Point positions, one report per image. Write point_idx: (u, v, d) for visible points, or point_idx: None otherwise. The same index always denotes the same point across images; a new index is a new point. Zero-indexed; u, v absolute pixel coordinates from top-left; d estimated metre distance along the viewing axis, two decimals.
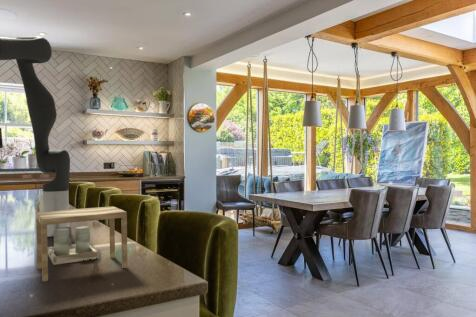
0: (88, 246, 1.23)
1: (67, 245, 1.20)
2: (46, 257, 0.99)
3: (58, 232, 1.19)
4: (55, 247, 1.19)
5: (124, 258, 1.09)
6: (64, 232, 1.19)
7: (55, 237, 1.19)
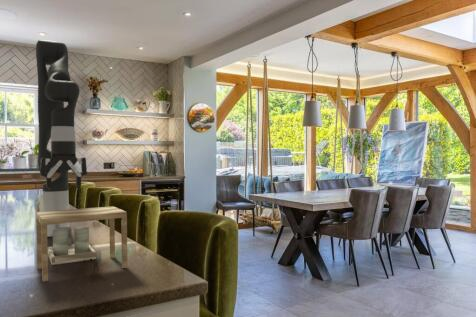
0: (87, 246, 1.23)
1: (66, 245, 1.20)
2: (46, 257, 0.99)
3: (57, 232, 1.18)
4: (54, 247, 1.19)
5: (124, 258, 1.09)
6: (63, 232, 1.19)
7: (54, 237, 1.19)
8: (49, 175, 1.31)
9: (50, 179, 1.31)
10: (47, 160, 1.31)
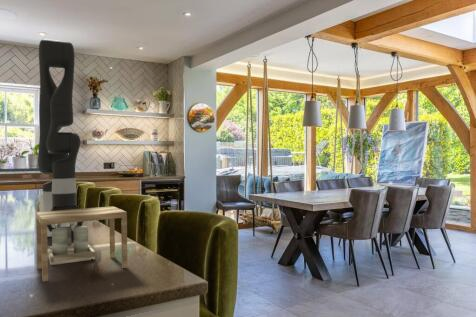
0: (86, 246, 1.23)
1: (65, 245, 1.20)
2: (46, 257, 0.99)
3: (56, 232, 1.18)
4: (53, 247, 1.19)
5: (124, 258, 1.09)
6: (62, 232, 1.19)
7: (53, 237, 1.19)
8: None
9: None
10: None
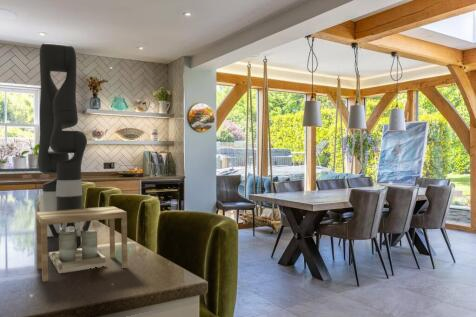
0: (96, 251, 1.15)
1: (73, 250, 1.12)
2: (46, 257, 0.99)
3: (64, 237, 1.10)
4: (60, 253, 1.10)
5: (124, 258, 1.09)
6: (70, 237, 1.11)
7: (60, 242, 1.10)
8: None
9: None
10: None
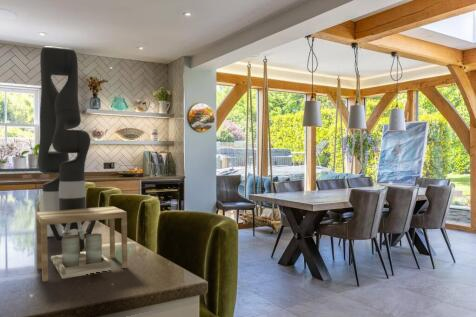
0: (100, 255, 1.10)
1: (77, 254, 1.07)
2: (46, 257, 0.99)
3: (67, 240, 1.06)
4: (63, 257, 1.06)
5: (124, 258, 1.09)
6: (74, 240, 1.06)
7: (63, 246, 1.06)
8: None
9: None
10: None
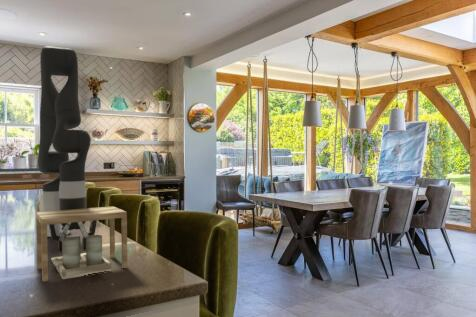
0: (100, 257, 1.10)
1: (77, 256, 1.07)
2: (46, 257, 0.99)
3: (67, 242, 1.05)
4: (64, 259, 1.06)
5: (124, 258, 1.09)
6: (74, 242, 1.06)
7: (64, 247, 1.05)
8: (61, 238, 1.18)
9: None
10: None
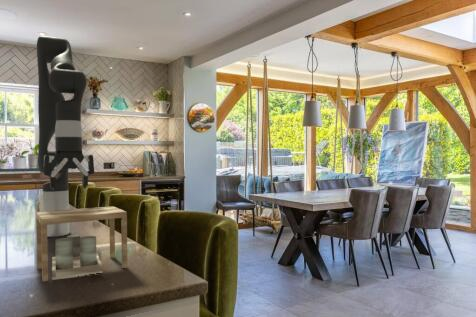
0: (94, 258, 1.09)
1: (70, 257, 1.06)
2: (46, 257, 0.99)
3: (59, 242, 1.05)
4: (56, 259, 1.05)
5: (124, 258, 1.09)
6: (66, 242, 1.05)
7: (56, 248, 1.05)
8: (53, 174, 1.19)
9: (54, 178, 1.19)
10: (51, 157, 1.19)
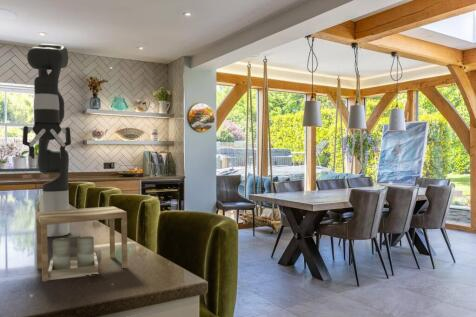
0: (91, 259, 1.08)
1: (67, 257, 1.06)
2: (46, 257, 0.99)
3: (56, 243, 1.05)
4: (53, 259, 1.05)
5: (124, 258, 1.09)
6: (63, 243, 1.05)
7: (53, 248, 1.05)
8: (32, 144, 1.28)
9: (33, 148, 1.28)
10: (30, 128, 1.28)
